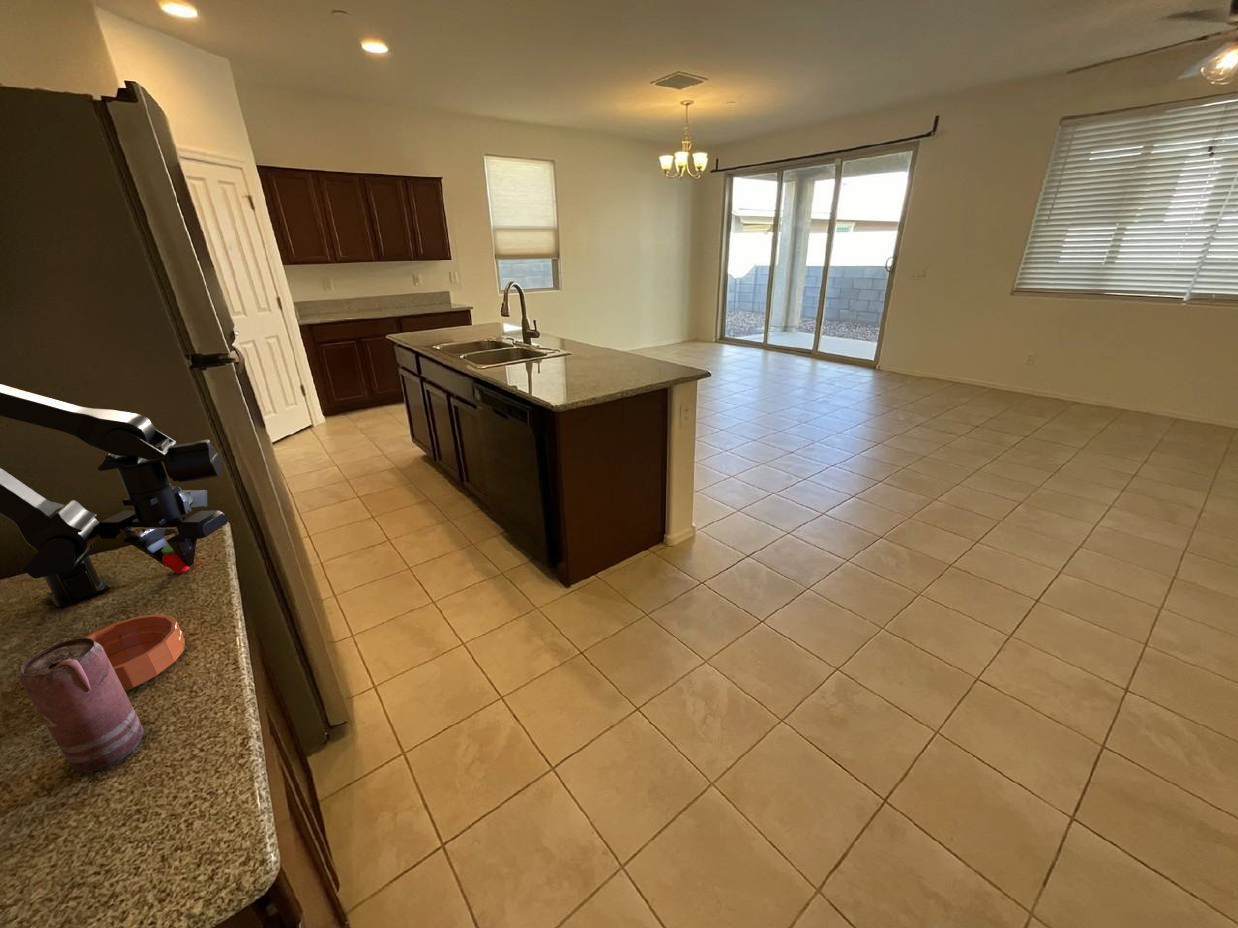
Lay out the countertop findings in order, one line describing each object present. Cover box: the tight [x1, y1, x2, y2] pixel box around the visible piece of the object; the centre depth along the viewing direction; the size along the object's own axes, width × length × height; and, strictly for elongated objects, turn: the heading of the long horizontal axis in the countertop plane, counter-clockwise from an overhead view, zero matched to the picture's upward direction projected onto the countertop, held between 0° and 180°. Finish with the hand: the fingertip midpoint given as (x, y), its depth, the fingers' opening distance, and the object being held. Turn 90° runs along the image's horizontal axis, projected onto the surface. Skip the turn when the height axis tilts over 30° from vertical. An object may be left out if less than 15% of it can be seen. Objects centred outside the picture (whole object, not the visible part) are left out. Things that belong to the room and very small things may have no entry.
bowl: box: [84, 613, 186, 692], centre depth 69 cm, size 12×12×4 cm
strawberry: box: [161, 544, 190, 574], centre depth 91 cm, size 4×4×5 cm
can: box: [18, 637, 145, 773], centre depth 55 cm, size 6×6×14 cm
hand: (179, 565), depth 92 cm, fingers closed on strawberry, 4 cm apart
